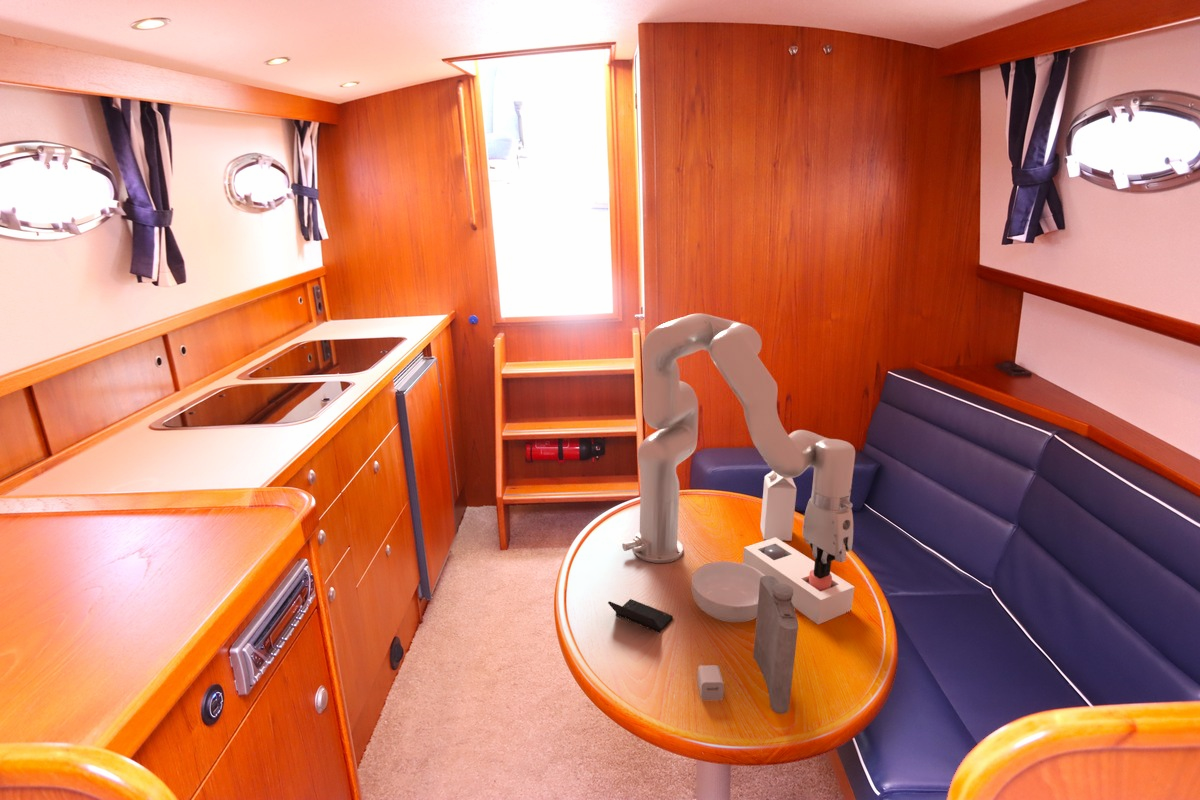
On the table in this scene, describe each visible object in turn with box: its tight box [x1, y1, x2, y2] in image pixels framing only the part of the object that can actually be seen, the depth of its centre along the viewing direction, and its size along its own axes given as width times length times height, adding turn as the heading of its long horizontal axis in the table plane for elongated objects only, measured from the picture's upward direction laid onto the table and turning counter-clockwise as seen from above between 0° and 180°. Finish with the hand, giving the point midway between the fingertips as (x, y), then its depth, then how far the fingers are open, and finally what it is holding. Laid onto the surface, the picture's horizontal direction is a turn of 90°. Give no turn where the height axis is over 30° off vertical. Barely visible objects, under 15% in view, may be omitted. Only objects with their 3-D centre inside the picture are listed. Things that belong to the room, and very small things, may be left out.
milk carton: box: [759, 470, 797, 542], centre depth 171 cm, size 7×7×19 cm
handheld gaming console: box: [607, 598, 674, 634], centre depth 139 cm, size 12×7×10 cm
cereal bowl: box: [690, 560, 765, 623], centre depth 142 cm, size 17×17×7 cm
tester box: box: [742, 537, 855, 625], centre depth 150 cm, size 10×24×6 cm, turn 29°
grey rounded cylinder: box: [764, 545, 785, 560], centre depth 155 cm, size 5×5×6 cm
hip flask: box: [752, 576, 799, 715], centre depth 119 cm, size 16×4×20 cm, turn 1°
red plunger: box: [808, 570, 832, 592], centre depth 143 cm, size 5×5×6 cm
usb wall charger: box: [696, 662, 725, 701], centre depth 120 cm, size 4×7×4 cm, turn 1°
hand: (821, 575), depth 142 cm, fingers closed
